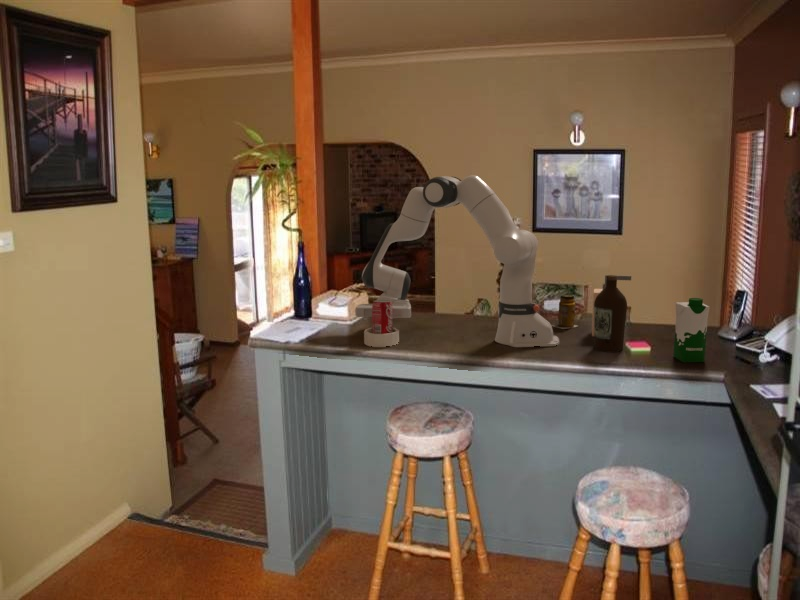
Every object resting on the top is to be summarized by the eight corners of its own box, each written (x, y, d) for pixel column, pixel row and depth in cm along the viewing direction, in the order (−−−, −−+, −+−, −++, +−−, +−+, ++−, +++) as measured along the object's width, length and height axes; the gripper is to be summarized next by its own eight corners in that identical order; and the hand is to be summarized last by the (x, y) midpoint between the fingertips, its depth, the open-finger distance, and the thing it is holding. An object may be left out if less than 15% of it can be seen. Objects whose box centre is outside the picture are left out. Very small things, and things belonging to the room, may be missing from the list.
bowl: (400, 339, 257) (400, 326, 256) (396, 347, 245) (396, 334, 244) (367, 338, 258) (367, 326, 257) (362, 346, 246) (361, 334, 245)
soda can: (388, 339, 246) (389, 302, 245) (369, 338, 248) (369, 301, 247) (394, 336, 253) (395, 300, 251) (375, 335, 255) (375, 299, 253)
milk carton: (681, 363, 222) (685, 300, 218) (669, 355, 230) (673, 295, 227) (708, 362, 222) (713, 300, 218) (695, 355, 231) (700, 294, 227)
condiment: (579, 326, 274) (580, 295, 271) (564, 329, 269) (565, 298, 266) (564, 323, 279) (565, 293, 277) (549, 326, 274) (550, 295, 272)
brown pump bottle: (605, 342, 248) (608, 272, 243) (631, 348, 239) (635, 275, 235) (585, 347, 242) (588, 275, 237) (611, 354, 233) (615, 279, 228)
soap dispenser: (591, 336, 257) (594, 276, 253) (592, 331, 265) (594, 273, 261) (628, 338, 254) (631, 277, 250) (628, 333, 262) (631, 274, 258)
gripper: (358, 298, 263) (351, 306, 249) (413, 299, 260) (409, 307, 247) (358, 315, 264) (351, 323, 251) (413, 316, 262) (409, 324, 248)
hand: (380, 315), depth 249 cm, fingers closed on soda can
